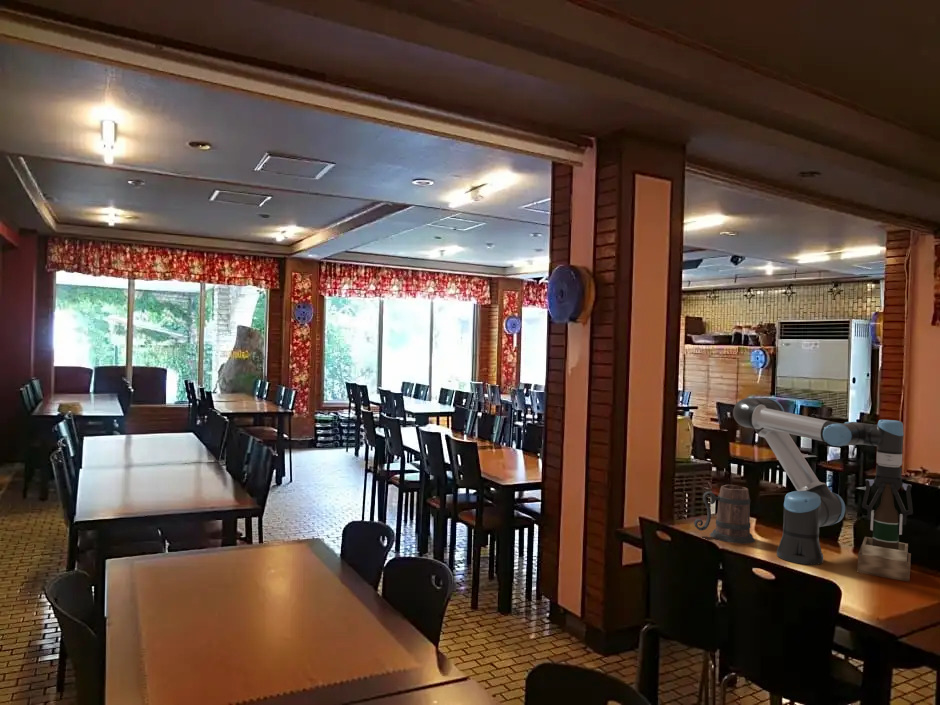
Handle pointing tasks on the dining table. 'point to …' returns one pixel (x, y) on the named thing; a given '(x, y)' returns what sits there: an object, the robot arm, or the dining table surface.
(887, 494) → the beer bottle
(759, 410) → the robot arm
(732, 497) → the tankard
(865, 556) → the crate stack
